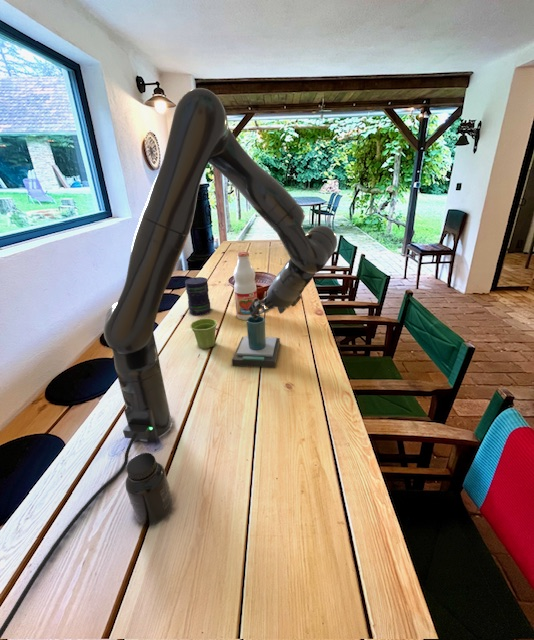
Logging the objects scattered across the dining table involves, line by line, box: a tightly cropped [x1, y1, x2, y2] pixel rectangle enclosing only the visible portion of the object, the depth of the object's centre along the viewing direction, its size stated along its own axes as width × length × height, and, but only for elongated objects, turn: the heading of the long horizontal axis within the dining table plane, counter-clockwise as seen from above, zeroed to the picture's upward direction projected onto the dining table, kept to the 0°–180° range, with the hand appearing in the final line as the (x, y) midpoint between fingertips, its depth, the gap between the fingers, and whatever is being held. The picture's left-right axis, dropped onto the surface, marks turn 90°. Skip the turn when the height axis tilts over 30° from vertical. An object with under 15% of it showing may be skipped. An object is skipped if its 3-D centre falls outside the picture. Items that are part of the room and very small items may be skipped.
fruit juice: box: [232, 251, 258, 321], centre depth 136 cm, size 9×9×28 cm
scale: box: [231, 336, 281, 369], centre depth 111 cm, size 16×14×3 cm
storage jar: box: [184, 276, 212, 317], centre depth 146 cm, size 10×10×15 cm
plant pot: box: [190, 318, 218, 350], centre depth 117 cm, size 9×9×9 cm
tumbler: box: [246, 315, 267, 350], centre depth 108 cm, size 6×6×10 cm
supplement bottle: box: [125, 452, 173, 526], centre depth 58 cm, size 7×7×12 cm
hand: (267, 313), depth 95 cm, fingers open, 8 cm apart
